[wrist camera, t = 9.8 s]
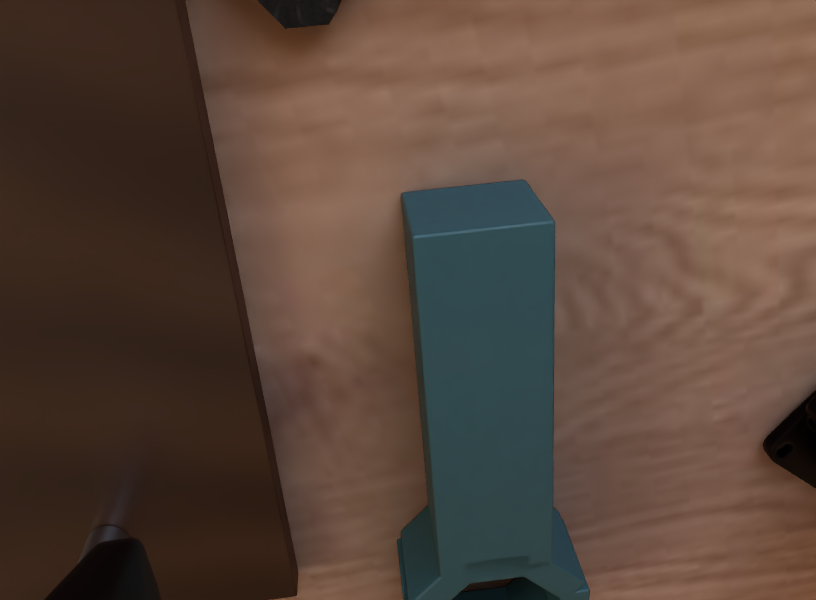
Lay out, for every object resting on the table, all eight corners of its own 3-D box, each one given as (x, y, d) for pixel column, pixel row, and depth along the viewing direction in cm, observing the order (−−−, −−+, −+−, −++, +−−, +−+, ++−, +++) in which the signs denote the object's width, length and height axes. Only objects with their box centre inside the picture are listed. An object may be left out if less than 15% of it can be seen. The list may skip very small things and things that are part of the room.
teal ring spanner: (561, 597, 26) (587, 674, 24) (405, 617, 26) (414, 697, 24) (568, 173, 20) (605, 215, 17) (356, 196, 19) (360, 241, 17)
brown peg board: (298, 572, 25) (288, 772, 19) (-16, 611, 24) (-123, 828, 19) (169, -81, 16) (78, -75, 10) (-321, -37, 16) (-696, -7, 10)
